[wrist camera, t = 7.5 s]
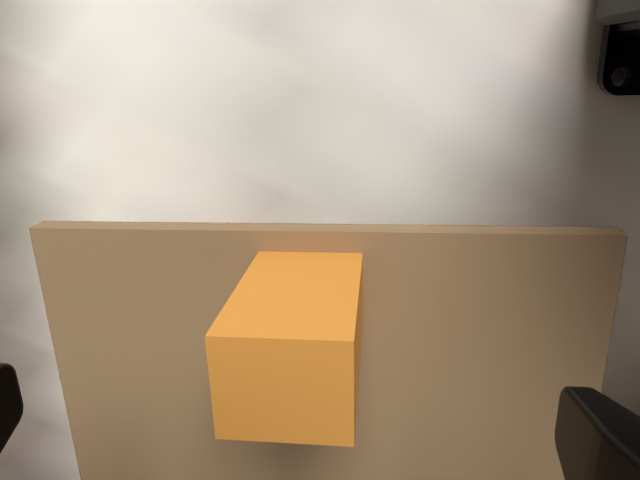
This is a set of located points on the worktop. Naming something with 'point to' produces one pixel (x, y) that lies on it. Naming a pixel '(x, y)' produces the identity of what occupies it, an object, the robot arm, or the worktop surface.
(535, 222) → the worktop surface
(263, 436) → the lid
